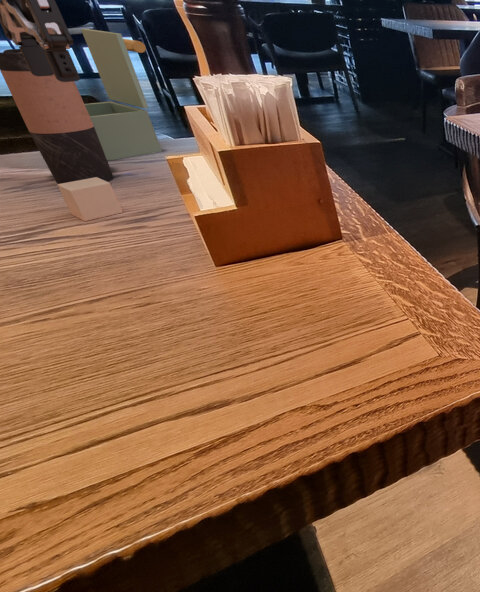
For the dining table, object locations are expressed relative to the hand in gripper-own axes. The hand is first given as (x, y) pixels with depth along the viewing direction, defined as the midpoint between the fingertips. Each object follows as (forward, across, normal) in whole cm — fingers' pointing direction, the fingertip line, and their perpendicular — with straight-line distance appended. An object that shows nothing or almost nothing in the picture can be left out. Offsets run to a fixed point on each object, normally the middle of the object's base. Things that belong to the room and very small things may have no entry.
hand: (56, 78), depth 70 cm
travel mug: (+18, -16, +2) cm, 24 cm away
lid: (+2, -30, +16) cm, 34 cm away
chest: (+17, -30, +11) cm, 36 cm away
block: (+18, +2, -3) cm, 18 cm away
